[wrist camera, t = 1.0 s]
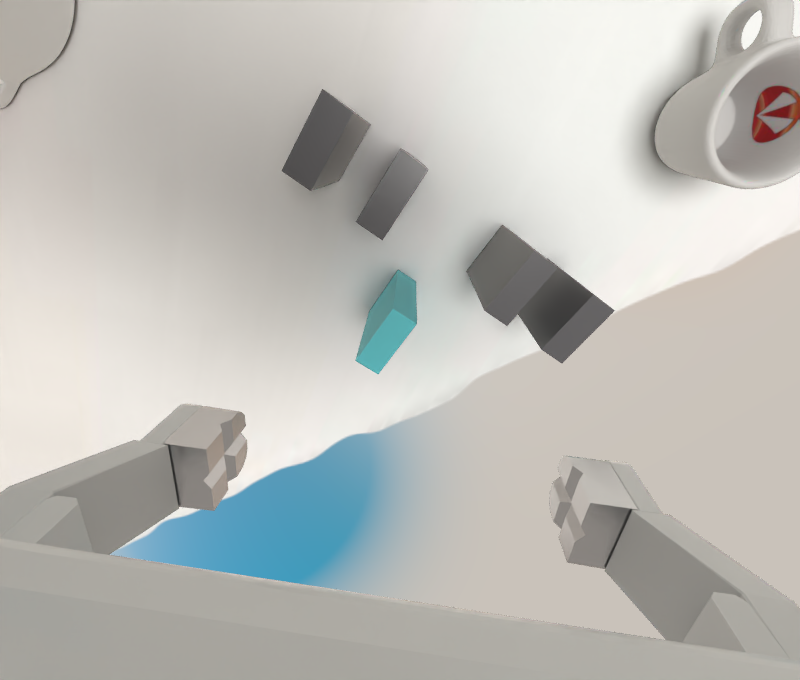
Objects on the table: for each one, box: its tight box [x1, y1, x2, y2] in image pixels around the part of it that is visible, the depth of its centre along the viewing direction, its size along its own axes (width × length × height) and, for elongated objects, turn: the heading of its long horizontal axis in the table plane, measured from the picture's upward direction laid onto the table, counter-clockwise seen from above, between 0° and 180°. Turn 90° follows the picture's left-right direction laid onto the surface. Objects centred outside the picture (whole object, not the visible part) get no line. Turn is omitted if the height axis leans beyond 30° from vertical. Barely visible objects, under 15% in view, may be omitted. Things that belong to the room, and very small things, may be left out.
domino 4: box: [518, 259, 614, 363], centre depth 32 cm, size 2×5×10 cm, turn 146°
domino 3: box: [467, 225, 558, 326], centre depth 31 cm, size 2×5×10 cm, turn 146°
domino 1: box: [282, 89, 371, 191], centre depth 27 cm, size 2×5×10 cm, turn 146°
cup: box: [655, 0, 800, 189], centre depth 26 cm, size 11×8×8 cm
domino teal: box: [355, 270, 417, 374], centre depth 33 cm, size 2×5×10 cm, turn 146°
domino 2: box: [356, 149, 428, 240], centre depth 28 cm, size 2×5×10 cm, turn 146°
